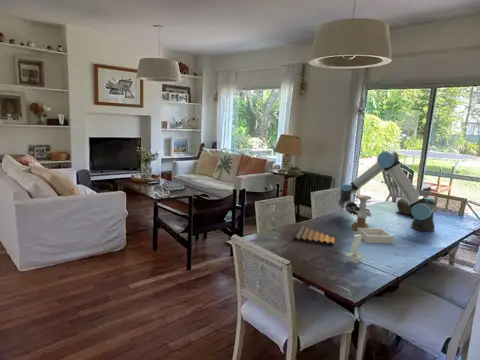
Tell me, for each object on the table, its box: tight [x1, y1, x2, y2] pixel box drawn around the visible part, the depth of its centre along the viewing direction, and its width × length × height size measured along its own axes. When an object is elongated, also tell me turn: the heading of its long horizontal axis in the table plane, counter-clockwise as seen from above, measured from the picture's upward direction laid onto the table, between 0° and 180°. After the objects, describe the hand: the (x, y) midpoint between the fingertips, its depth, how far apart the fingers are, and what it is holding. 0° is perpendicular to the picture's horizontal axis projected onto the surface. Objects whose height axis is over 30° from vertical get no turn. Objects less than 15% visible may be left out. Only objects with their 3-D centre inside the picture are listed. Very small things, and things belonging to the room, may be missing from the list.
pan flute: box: [292, 225, 336, 247], centre depth 229 cm, size 25×3×25 cm
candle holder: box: [351, 194, 372, 232], centre depth 247 cm, size 11×11×24 cm
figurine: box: [346, 234, 365, 264], centre depth 190 cm, size 7×9×15 cm
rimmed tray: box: [356, 227, 395, 244], centre depth 230 cm, size 17×17×4 cm
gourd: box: [396, 196, 413, 216], centre depth 295 cm, size 25×25×17 cm
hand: (365, 214), depth 242 cm, fingers closed on candle holder, 7 cm apart
